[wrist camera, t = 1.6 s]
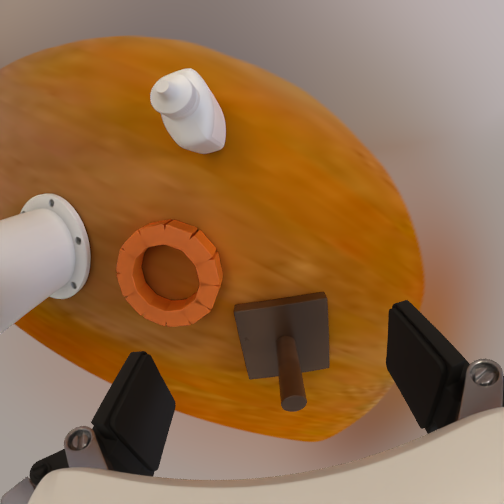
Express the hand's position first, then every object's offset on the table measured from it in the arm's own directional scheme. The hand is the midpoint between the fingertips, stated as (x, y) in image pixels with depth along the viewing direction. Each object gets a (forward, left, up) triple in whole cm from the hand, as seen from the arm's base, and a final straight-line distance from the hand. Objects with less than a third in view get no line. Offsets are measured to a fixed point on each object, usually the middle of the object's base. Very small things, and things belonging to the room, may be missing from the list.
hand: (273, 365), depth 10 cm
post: (+1, -10, -17) cm, 19 cm away
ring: (-9, -1, -17) cm, 19 cm away
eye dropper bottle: (-3, +12, -17) cm, 21 cm away
